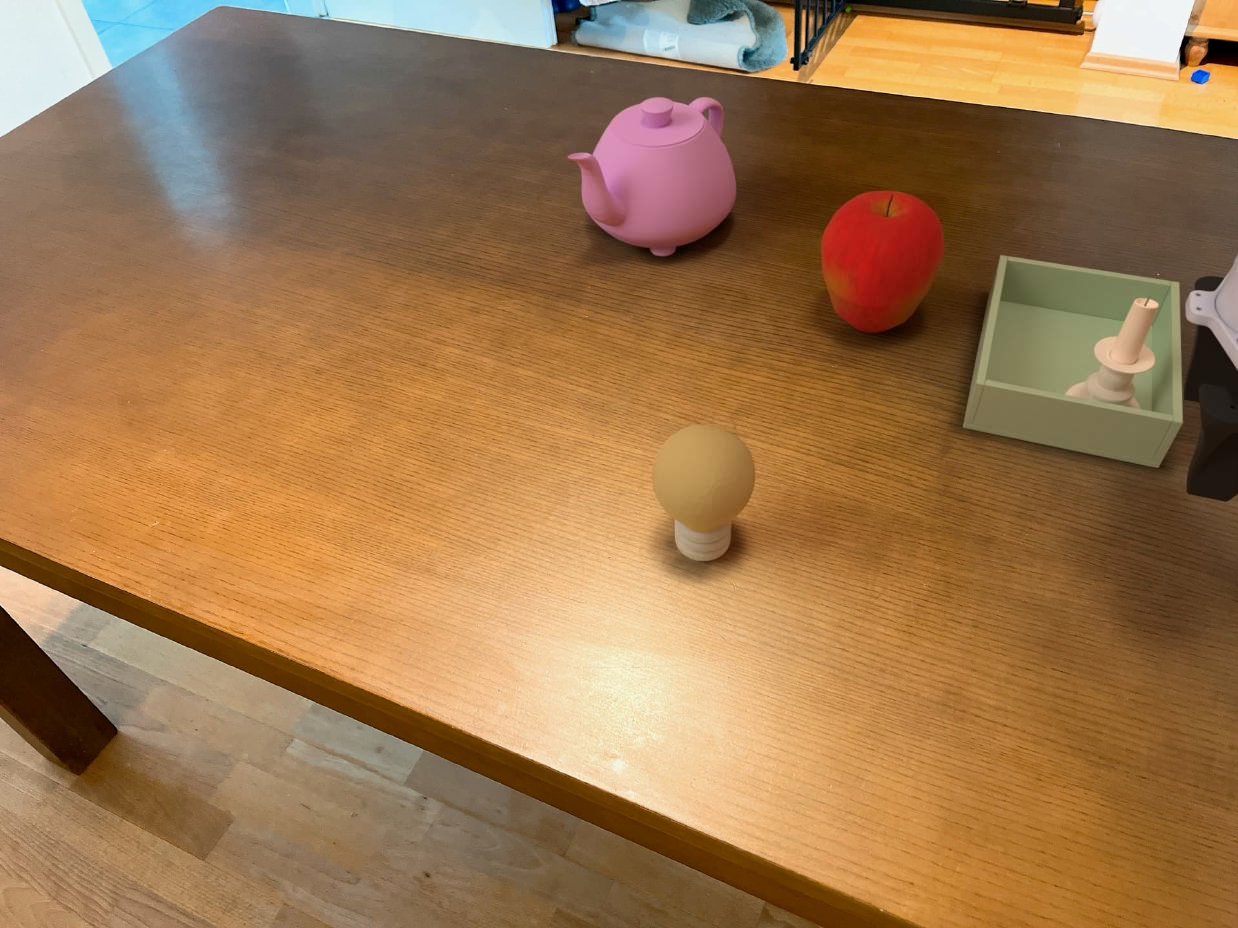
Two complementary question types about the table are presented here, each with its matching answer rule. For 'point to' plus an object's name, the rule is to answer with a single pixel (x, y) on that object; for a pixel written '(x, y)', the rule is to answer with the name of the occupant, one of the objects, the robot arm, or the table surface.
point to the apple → (881, 258)
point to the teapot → (660, 174)
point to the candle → (1121, 359)
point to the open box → (1074, 361)
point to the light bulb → (703, 487)
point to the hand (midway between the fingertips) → (1204, 444)
